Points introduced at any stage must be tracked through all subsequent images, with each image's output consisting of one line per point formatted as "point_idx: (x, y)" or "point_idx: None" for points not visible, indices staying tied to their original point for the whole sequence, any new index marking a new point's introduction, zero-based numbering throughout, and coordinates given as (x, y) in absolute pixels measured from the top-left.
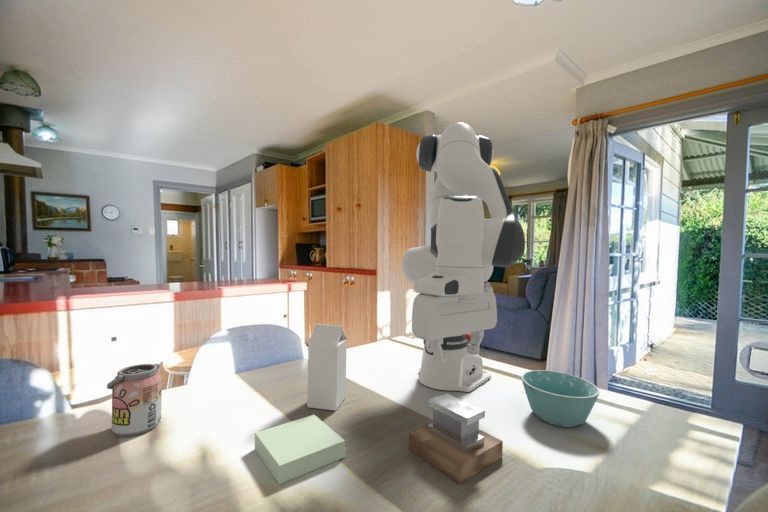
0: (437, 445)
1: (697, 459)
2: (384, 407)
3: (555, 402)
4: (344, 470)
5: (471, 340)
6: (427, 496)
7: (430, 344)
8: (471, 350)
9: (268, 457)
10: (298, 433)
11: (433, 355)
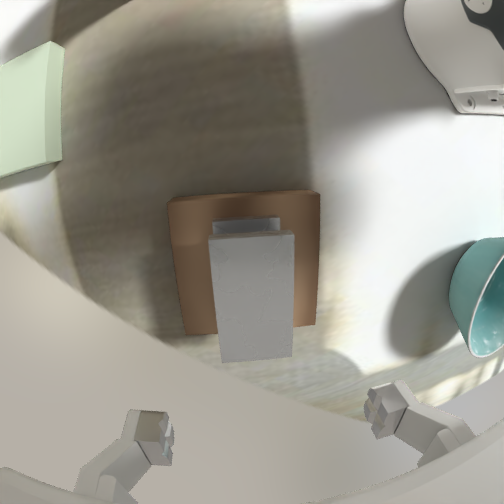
0: (190, 273)
1: (449, 389)
2: (245, 23)
3: (462, 324)
4: (51, 193)
5: (417, 417)
6: (130, 309)
7: (89, 467)
8: (374, 409)
9: None
10: (4, 104)
11: (124, 425)
